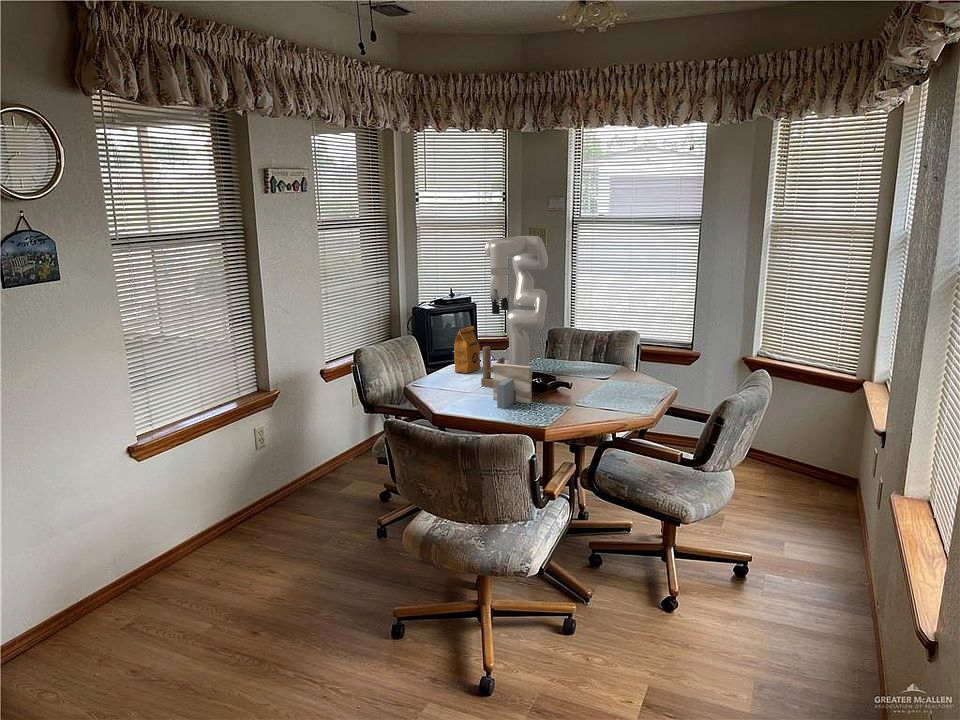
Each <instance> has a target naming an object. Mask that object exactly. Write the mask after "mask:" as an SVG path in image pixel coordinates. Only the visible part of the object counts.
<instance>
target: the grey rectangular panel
mask: <svg viewBox="0 0 960 720" xmlns="http://www.w3.org/2000/svg"><path fill="white" fill-rule="evenodd" d="M496 403H497V404H496V405H497V406H496V407H497V409H499V408H501V410H505V409H506V408H508V407H509V406H510V405H512V404H513V403H516V390H514V380H513V379H508V378H507V379H505V380H503V381H502V382H500V383H499V384H497V400H496Z"/></svg>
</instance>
